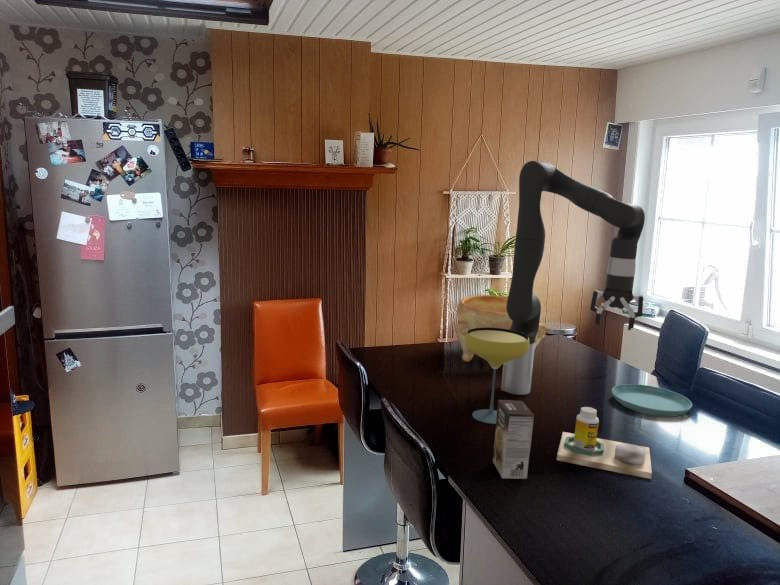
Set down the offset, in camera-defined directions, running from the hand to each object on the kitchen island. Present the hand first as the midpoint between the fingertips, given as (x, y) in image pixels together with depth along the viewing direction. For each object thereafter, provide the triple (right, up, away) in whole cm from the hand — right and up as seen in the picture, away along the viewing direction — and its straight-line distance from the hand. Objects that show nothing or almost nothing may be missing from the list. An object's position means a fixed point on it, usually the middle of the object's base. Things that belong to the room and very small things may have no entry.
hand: (613, 327), depth 179 cm
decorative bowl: (-26, -16, +63) cm, 70 cm away
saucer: (+19, -27, +19) cm, 38 cm away
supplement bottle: (-15, -30, -21) cm, 39 cm away
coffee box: (-37, -33, -33) cm, 59 cm away
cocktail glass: (-36, -27, +1) cm, 45 cm away
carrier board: (-11, -32, -22) cm, 40 cm away
